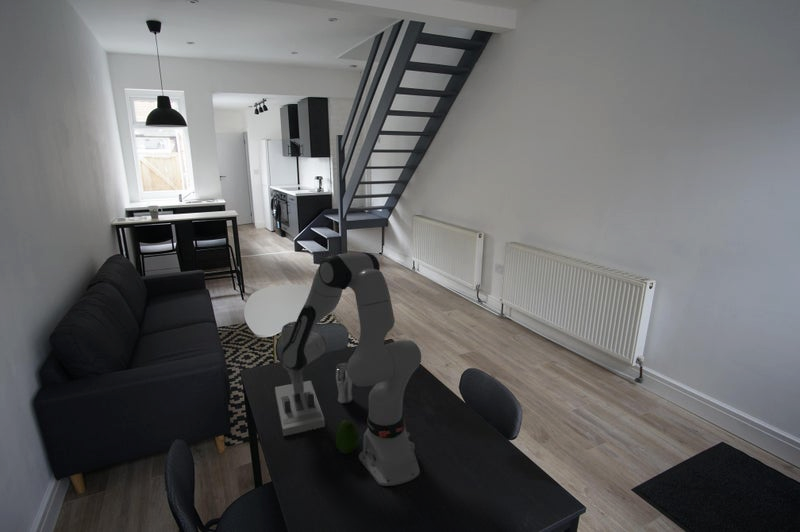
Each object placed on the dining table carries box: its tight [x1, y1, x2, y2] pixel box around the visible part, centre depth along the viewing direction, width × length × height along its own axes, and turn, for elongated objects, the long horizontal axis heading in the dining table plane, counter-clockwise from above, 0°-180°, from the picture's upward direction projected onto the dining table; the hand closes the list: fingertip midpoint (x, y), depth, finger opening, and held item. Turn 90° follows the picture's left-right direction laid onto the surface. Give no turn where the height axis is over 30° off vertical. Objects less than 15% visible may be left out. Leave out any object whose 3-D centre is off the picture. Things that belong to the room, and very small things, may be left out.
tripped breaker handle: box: [294, 394, 300, 401], centre depth 167 cm, size 2×2×4 cm
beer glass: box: [335, 362, 354, 404], centre depth 172 cm, size 7×7×15 cm
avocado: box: [335, 419, 360, 455], centre depth 142 cm, size 8×8×12 cm
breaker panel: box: [274, 380, 326, 437], centre depth 166 cm, size 30×15×8 cm, turn 21°
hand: (296, 392), depth 170 cm, fingers closed
